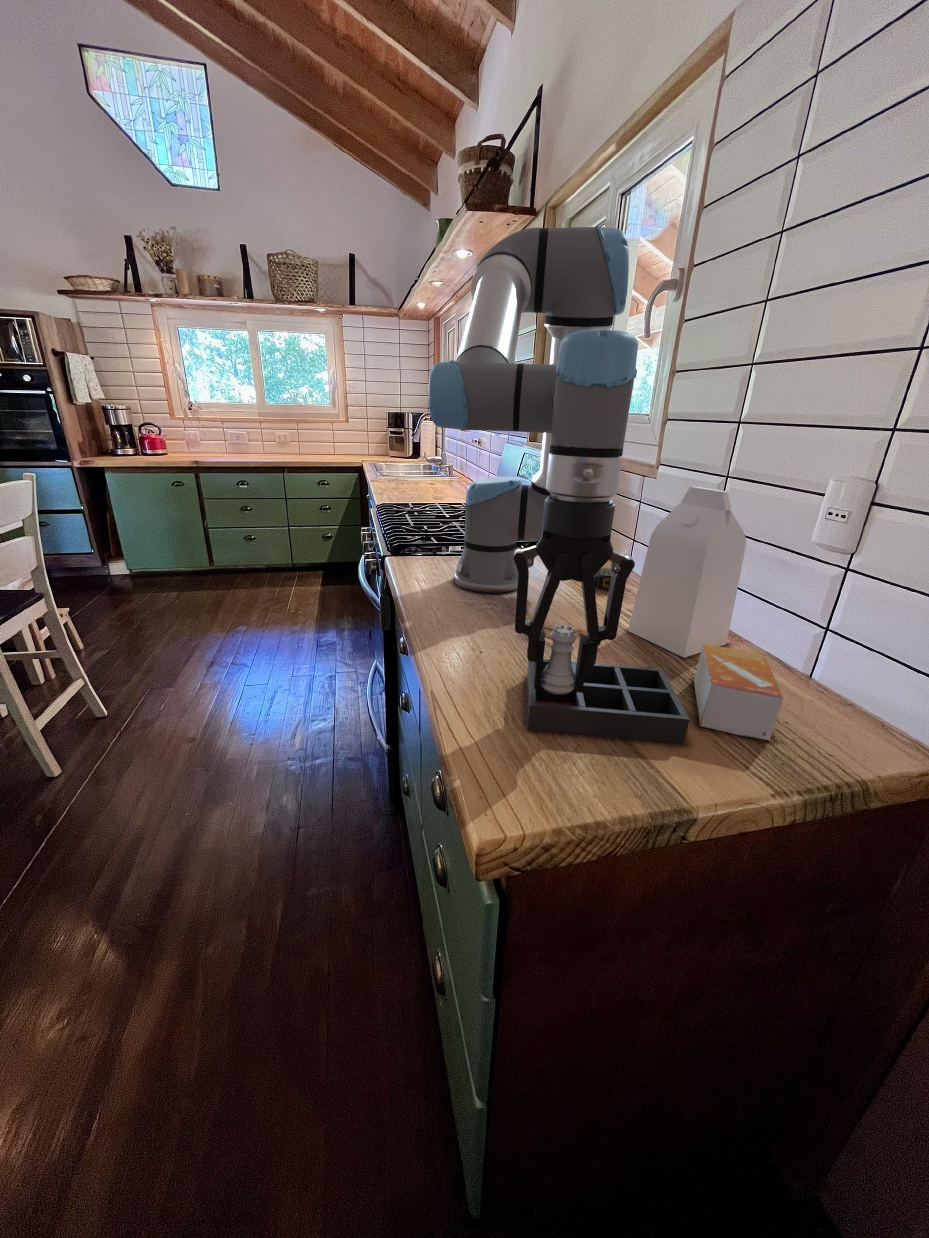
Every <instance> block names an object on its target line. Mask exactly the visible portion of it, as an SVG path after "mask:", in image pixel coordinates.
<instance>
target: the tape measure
mask: <svg viewBox="0 0 929 1238" xmlns="http://www.w3.org/2000/svg"><path fill="white" fill-rule="evenodd" d="M612 572H613V571H612V570H611V568H607V567H605V568H604V567H602V568H601V569H600V570H599V571H598V572H597V573H596V574H595V575H594V582H595V589H606V590H609V587H610V581H611V576H612Z"/></svg>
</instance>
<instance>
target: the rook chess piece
mask: <svg viewBox="0 0 929 1238" xmlns="http://www.w3.org/2000/svg"><path fill="white" fill-rule="evenodd" d="M552 629H553V630H552V631H551V632H550V633H549V636H550V638H551V640H552V642H551V643H550V645H549V646H550V648H551V652H550V656H549V659H548V660H549V663H548V665H547V666H546V667H545V669H544V670H543V672H542V676H541V677H542V678H541V685H542V687H543V688H544V689H545V690H546V691H548V692H550V693H554V694H568V693H569V692H571V691H572V690H574V689H575V686H576V685H575V681H576V676H575V674H574V672H573V668H572V666H571V661H572V652H573V651H574V649H575V648H574V646H573V644H574V643H575V641H576V640H577V639H578V636H577V634H576V629H575V627H572V626H571V625H567V627H565V624H563V623H561V624H559V625H558V624H555V625H554V626H553V628H552Z"/></svg>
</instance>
